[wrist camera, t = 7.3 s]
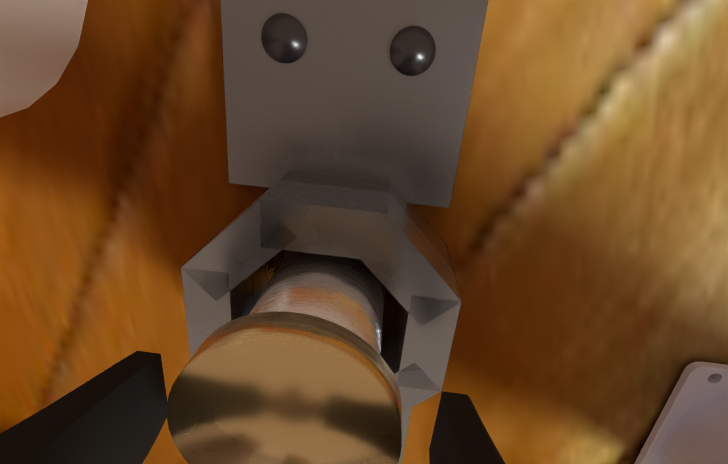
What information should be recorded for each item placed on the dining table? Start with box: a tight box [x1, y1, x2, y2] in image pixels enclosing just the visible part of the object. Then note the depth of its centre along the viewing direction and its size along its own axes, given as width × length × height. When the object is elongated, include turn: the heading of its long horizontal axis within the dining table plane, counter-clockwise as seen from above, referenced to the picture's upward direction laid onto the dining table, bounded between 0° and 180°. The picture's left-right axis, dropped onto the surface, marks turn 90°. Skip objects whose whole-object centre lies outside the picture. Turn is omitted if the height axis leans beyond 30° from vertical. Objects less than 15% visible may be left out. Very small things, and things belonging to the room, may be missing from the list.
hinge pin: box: [167, 251, 402, 464], centre depth 12 cm, size 5×5×8 cm
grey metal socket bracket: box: [181, 0, 488, 464], centre depth 14 cm, size 27×9×4 cm, turn 175°
